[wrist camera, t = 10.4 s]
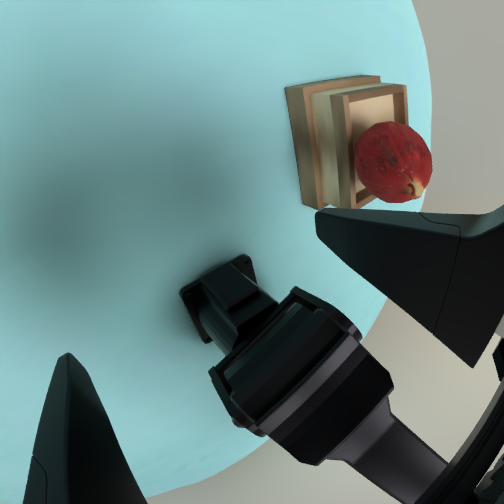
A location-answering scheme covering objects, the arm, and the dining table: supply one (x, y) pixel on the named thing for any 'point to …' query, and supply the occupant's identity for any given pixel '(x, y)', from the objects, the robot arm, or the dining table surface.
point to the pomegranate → (393, 162)
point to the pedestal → (338, 134)
